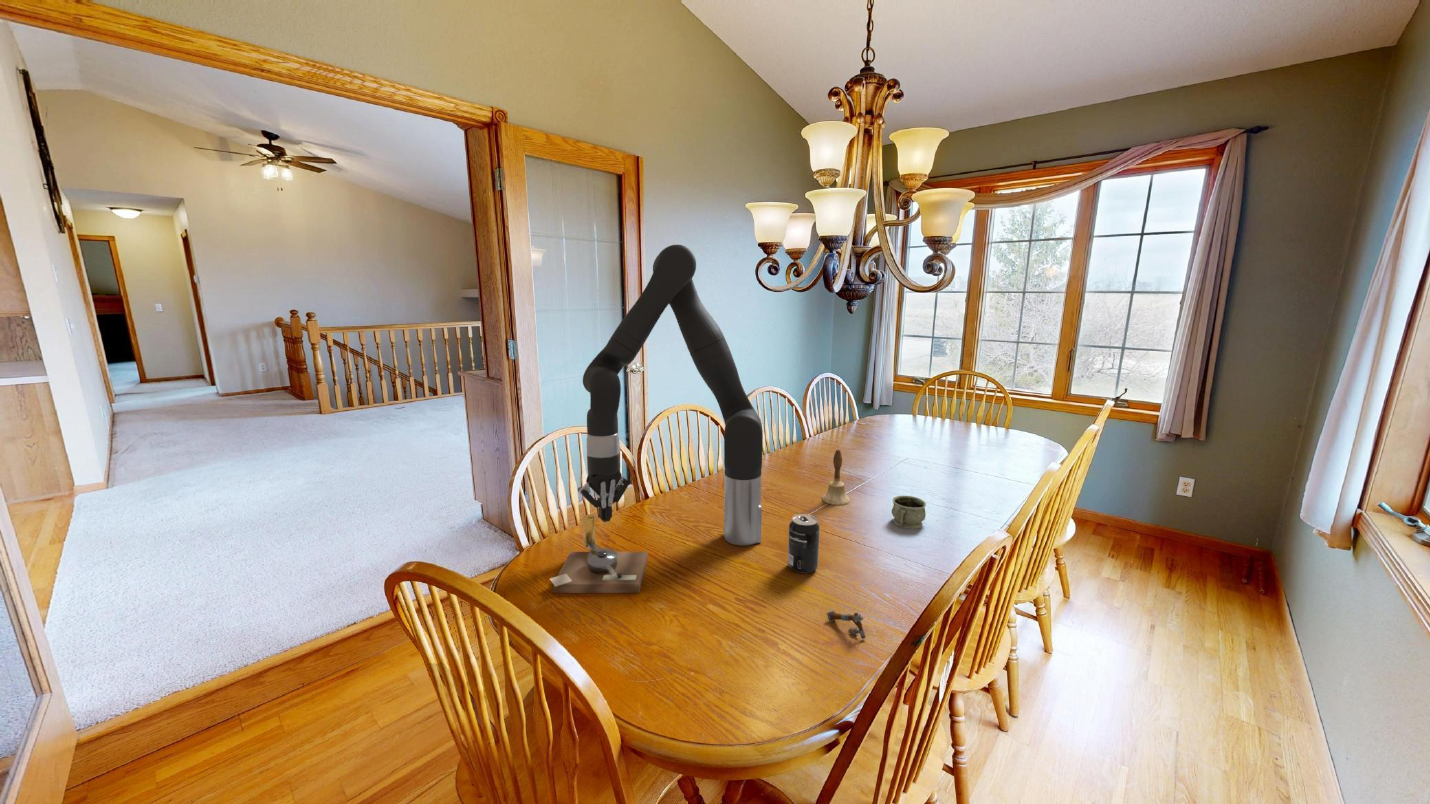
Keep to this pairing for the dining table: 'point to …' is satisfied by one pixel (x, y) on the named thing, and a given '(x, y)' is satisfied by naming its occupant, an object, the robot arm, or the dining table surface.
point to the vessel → (908, 511)
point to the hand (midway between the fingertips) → (605, 520)
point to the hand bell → (836, 485)
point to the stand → (601, 575)
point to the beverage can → (803, 543)
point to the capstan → (597, 550)
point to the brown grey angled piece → (848, 617)
